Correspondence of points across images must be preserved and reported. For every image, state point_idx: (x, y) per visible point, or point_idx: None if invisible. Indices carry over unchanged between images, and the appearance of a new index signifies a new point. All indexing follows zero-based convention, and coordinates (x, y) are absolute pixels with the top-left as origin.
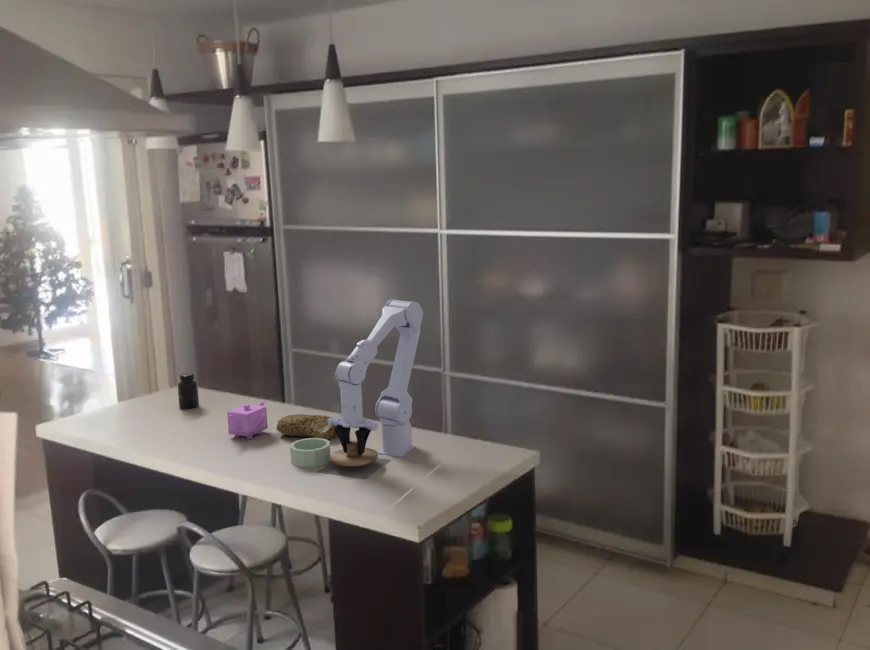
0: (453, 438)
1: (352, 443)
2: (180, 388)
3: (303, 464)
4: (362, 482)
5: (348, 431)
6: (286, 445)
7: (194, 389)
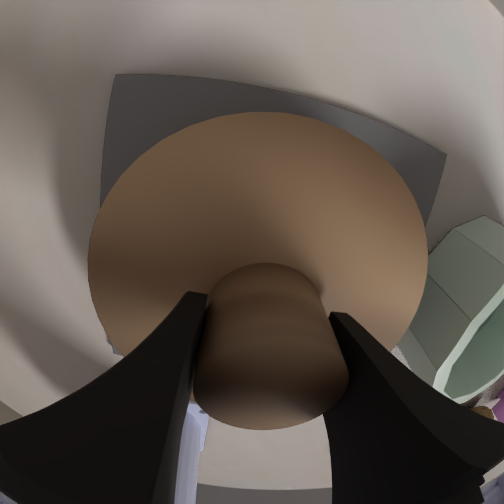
0: None
1: (281, 386)
2: None
3: (499, 224)
4: (130, 42)
5: (347, 493)
6: None
7: None
